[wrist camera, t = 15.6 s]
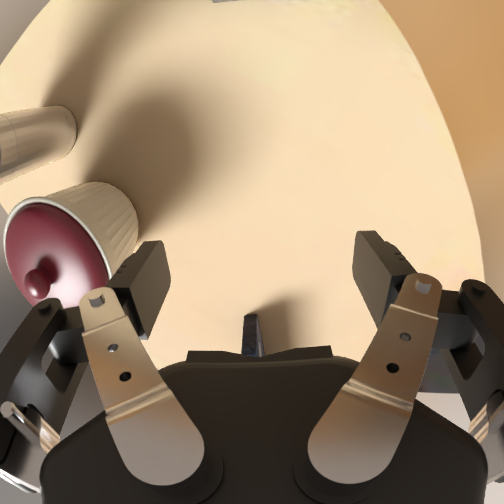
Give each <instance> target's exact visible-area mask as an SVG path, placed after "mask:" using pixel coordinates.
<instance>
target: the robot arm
mask: <svg viewBox="0 0 504 504" xmlns="http://www.w3.org/2000/svg"><path fill="white" fill-rule="evenodd" d="M76 133H77V130H76V122H75V119H74V116H73V115H72V113H71V112H70V111H69V110H68V109H67V108H65V107H63V106H49V107H40V108H33V109H26V110H20V111H14V112H8V113H3V114H0V185H1V184H3V183H5V182H7V181H9V180H12V179H14V178H16V177H18V176H20V175H22V174H25V173H27V172H29V171H32V170H34V169H36V168H39V167H41V166H43V165H46V164H49V163H51V162H54V161H56V160H59V159H61V158H63V157H65V156H66V155H67V154H68V153H69V152H70V151H71V149H72V147H73V145H74V143H75V139H76ZM352 270H353V277H354V280H355V282H356V284H357V286H358V288H359V290H360V292H361V294H362V296H363V299H364V301H365V303H366V305H367V307H368V309H369V311H370V313H371V316H372V318H373V320H374V322H375V324H376V326H377V329H378V331H377V332H376V334H375V336H374V338H373V340H372V342H371V344H370V346H369V347H368V349H367V351H366V353H365V355H364V356H363V358H362V360H361V362H357V361H355V360H352V359H349V358H345V357H340V356H333V354H332V350H331V346H330V345H329V346H318V347H306V348H295V349H291V350H287V351H283V352H279V353H275V354H271V355H267V356H262V357H254V356H248V355H242V354H236V353H231V352H226V351H188V354H187V359H186V361H182V362H178V363H175V364H172V365H169V366H166V367H164V368H162V369H160V370H159V371H157V369H156V367H155V366H154V364H153V362H152V361H151V359H150V357H149V355H148V354H147V352H146V350H145V348H144V346H143V345H142V343H141V341H140V340H148V338H149V336H150V333H151V331H152V328H153V326H154V323H155V321H156V319H157V316H158V314H159V311H160V309H161V307H162V304H163V302H164V299H165V297H166V295H167V292H168V290H169V288H170V282H171V277H170V271H169V266H168V262H167V257H166V253H165V248H164V244H163V242H162V241H161V240H159V241H145V242H143V243H142V245H141V246H140V247H139V249H138V250H137V252H136V253H133V254H132V255H130V256H129V257H128V258H126V259H125V260H124V261H123V263H122V264H121V265H120V267H119V268H118V269H117V271H116V273H114V275H113V276H112V277H111V279H110V280H109V282H108V283H107V284H106V286H105V287H101V288H96V289H93V290H91V291H89V292H88V293H86V294H85V295H84V296H83V297H82V298H81V299H80V301H79V306H75V307H70V308H65V309H64V308H63V306H62V303H61V301H60V300H59V299H58V298H47V299H45V300H42V301H41V302H39V303H38V304H36V305H35V306H34V307H33V308H32V310H31V311H30V313H29V314H28V315H27V316H26V318H25V319H24V321H23V322H22V323H21V325H20V326H19V327H18V329H17V330H16V332H15V333H14V335H13V336H12V337H11V339H10V340H9V342H8V343H7V345H6V346H5V348H4V349H3V351H2V352H1V354H0V477H2V478H3V479H4V480H6V481H7V482H9V483H12V484H14V485H15V486H17V487H18V488H20V489H21V490H23V491H25V492H27V493H36V492H39V493H41V497H42V504H484V497H485V489H486V485H487V484H489V483H491V482H493V481H495V482H498V483H502V482H504V304H503V302H502V301H501V300H500V299H499V298H498V296H497V295H496V294H495V293H494V292H493V290H492V289H491V288H490V287H489V286H488V285H486V284H485V283H483V282H481V281H478V280H474V279H468V280H465V281H463V282H462V285H461V288H460V291H459V292H458V291H449V290H442V285H441V283H440V282H439V281H438V280H437V279H436V278H434V277H432V276H430V275H427V274H423V273H417V272H416V270H415V269H414V268H413V267H412V265H411V264H410V263H409V262H408V261H407V260H406V258H405V257H404V256H403V255H402V254H401V252H400V251H399V250H398V249H397V247H395V246H394V245H392V244H390V243H389V242H387V241H384V240H383V239H382V238H381V237H380V236H379V235H378V233H377V232H376V231H374V230H373V231H357V233H356V237H355V247H354V256H353V266H352ZM478 333H479V334H480V336H481V337H482V339H483V341H484V343H485V353H484V356H482V354H481V352H480V351H479V349H478V347H477V346H476V344H475V342H474V341H475V339H476V337H477V335H478ZM47 348H49V349H50V351H51V353H52V354H53V356H54V358H53V360H52V362H51V364H50V366H49V368H48V370H47V372H46V374H45V373H44V371H43V369H42V366H41V360H42V357H43V355H44V353H45V352H46V350H47ZM431 348H437V349H440V352H441V354H442V356H443V358H444V360H445V362H446V364H447V366H448V368H449V371H450V373H451V375H452V377H453V379H454V382H455V384H456V386H457V389H458V391H459V393H460V396H461V398H462V401H463V403H464V405H465V408H466V410H467V413H468V416H469V418H470V421H471V423H470V425H469V433H467V432H466V431H464V430H463V429H461V428H460V427H458V426H456V425H455V424H453V423H452V422H450V421H449V420H447V419H446V418H444V417H443V416H441V415H439V414H438V413H436V412H435V411H433V410H432V409H430V408H429V407H427V406H425V405H424V404H423V403H421V402H420V401H418V400H417V399H415V398H416V395H417V392H418V390H419V387H420V384H421V381H422V378H423V375H424V371H425V368H426V365H427V362H428V358H429V355H430V351H431ZM88 362H90V365H91V369H92V372H93V376H94V379H95V382H96V385H97V388H98V391H99V394H100V397H101V400H102V403H103V405H104V408H105V410H104V411H103V412H101V413H100V414H98V415H97V416H96V417H94V418H93V419H92V420H90V421H89V422H88V423H86V424H85V425H83V426H82V427H80V428H79V429H78V430H76V431H75V432H73V433H72V434H71V435H69V436H68V437H66V438H65V439H64V440H62V441H60V437H59V435H60V432H61V429H62V426H63V424H64V421H65V418H66V416H67V413H68V410H69V407H70V405H71V402H72V400H73V398H74V395H75V393H76V390H77V388H78V385H79V383H80V380H81V378H82V376H83V373H84V371H85V369H86V367H87V364H88Z"/></svg>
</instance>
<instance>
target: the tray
mask: <svg viewBox="0 0 504 504" xmlns="http://www.w3.org/2000/svg"><path fill="white" fill-rule="evenodd" d="M212 1H213V3H217V2H226V1H236V0H212Z"/></svg>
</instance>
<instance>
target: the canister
mask: <svg viewBox="0 0 504 504" xmlns="http://www.w3.org/2000/svg"><path fill="white" fill-rule="evenodd" d="M138 224H139V222H138V219H137V214H136V211H135V209H134V207H133V204H132V203H131V202H130V200H129V198H128V197H127V196H126V195H125V193H123V192H122V191H121V190H120V189H117V188H116V187H115V186H112V185H110V184H108V183H103V182H89V183H84V184H80V185H77V186H73V187H70V188H67V189H64V190H62V191H59V192H56V193H53V194H51V195H48V196H45V197H31V198H27V199H25V200H23V201H21V202H20V203H18V204H17V205H16V206H15V207H14V208H13V209H12V211H11V212H10V214H9V216H8V218H7V220H6V224H5V228H4V236H3V244H4V252H5V257H6V261H7V264H8V267H9V270H10V272H11V275H12V277H13V279H14V281H15V283H16V285H17V286H18V288H19V289H20V291H21V293H22V294H23V295H24V296H25V298H26V299H27V300H28V301H29V302H30V303H31V304H32V305H33V306H35V305H36V304H38V303H39V302H41V301H42V300H45V299H47V298H58V299H59V300H60V301H61V303H62V306H63V308H64V309H65V308H70V307H75V306H79V301H80V299H81V298H82V297H83V296H84V295H85V294H86V293H88V292H89V291H91V290H93V289H96V288H101V287H105V286H106V284H107V283H108V282H109V280H110V279H111V277H112V276H113V275H114V273H116V271H117V269H118V268H119V267H120V265H121V264H122V263H123V261H124V260H125V259H126V258H128V257H129V256H130V255H132V252H133V250H134V248H135V246H136V242H137V239H138V232H139V227H138Z"/></svg>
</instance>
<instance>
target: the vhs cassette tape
mask: <svg viewBox="0 0 504 504" xmlns="http://www.w3.org/2000/svg"><path fill="white" fill-rule="evenodd" d="M241 354H242V355H248V356H254V357H262V356H265V354H264V348H263V343H262V338H261V332H260V327H259V322H258V317H257V315H249V316H248V315H247V316H244V325H243V338H242V351H241Z"/></svg>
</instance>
